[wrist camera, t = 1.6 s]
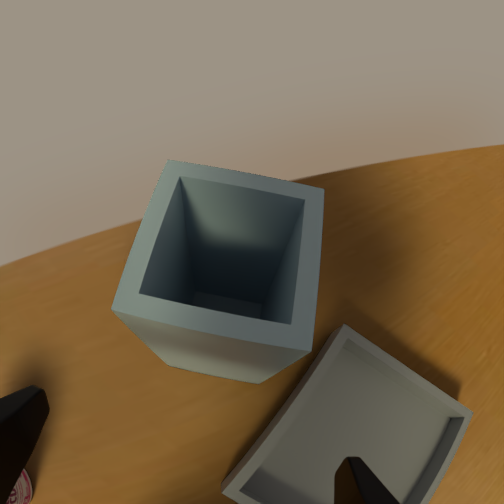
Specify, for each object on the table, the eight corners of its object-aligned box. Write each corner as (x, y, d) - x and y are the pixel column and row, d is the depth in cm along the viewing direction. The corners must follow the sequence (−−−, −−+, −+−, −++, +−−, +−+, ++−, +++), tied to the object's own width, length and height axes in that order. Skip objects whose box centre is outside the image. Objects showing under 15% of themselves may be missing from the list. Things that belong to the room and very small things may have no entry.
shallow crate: (368, 554, 14) (383, 564, 12) (220, 483, 17) (221, 492, 14) (453, 414, 20) (473, 412, 17) (331, 332, 22) (344, 323, 20)
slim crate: (258, 384, 20) (311, 351, 9) (168, 365, 20) (110, 309, 9) (272, 300, 23) (324, 189, 12) (188, 283, 23) (167, 159, 12)
